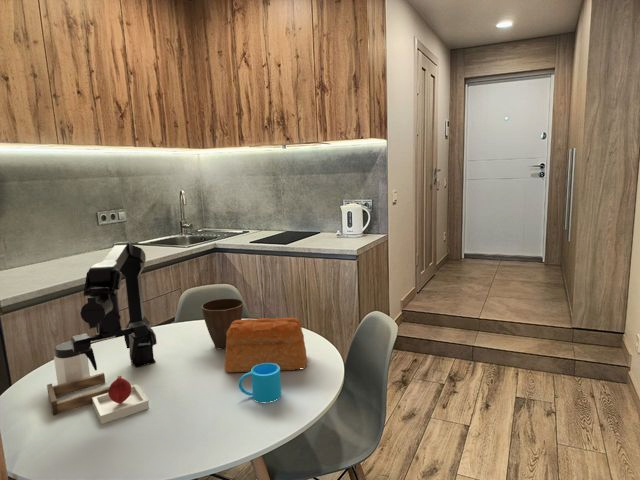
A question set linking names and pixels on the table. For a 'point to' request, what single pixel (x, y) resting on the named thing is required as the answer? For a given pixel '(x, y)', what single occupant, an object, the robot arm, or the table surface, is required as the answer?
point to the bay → (73, 387)
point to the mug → (264, 382)
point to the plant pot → (221, 318)
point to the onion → (119, 390)
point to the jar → (70, 364)
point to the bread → (265, 344)
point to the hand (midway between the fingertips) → (114, 364)
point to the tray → (119, 405)
